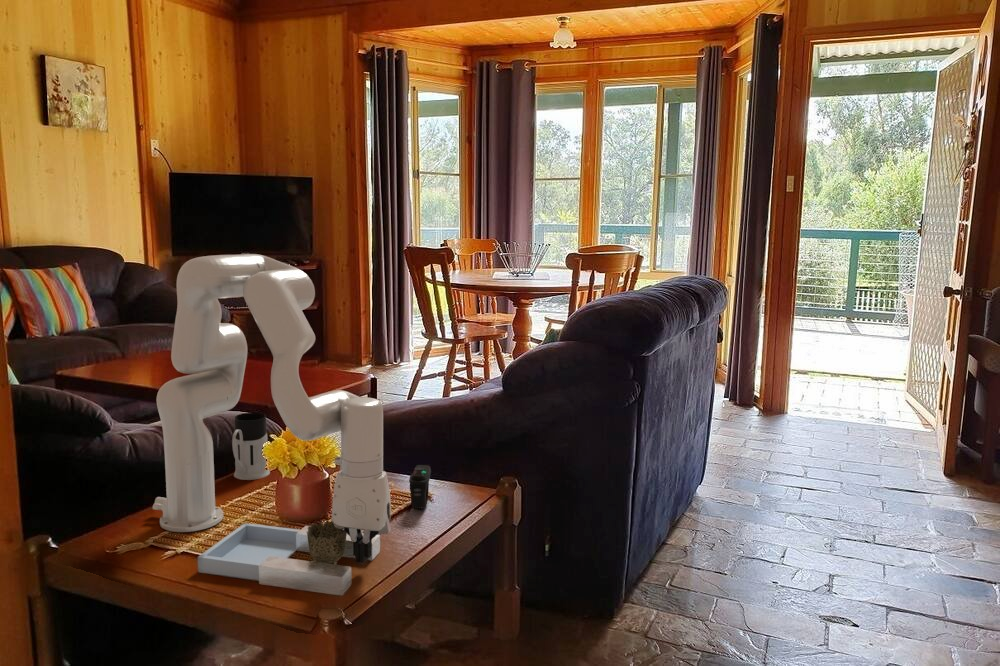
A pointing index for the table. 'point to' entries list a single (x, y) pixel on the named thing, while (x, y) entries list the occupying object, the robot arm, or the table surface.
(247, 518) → the table surface
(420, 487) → the controller
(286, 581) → the groove rails
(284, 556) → the tray
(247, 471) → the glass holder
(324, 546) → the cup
